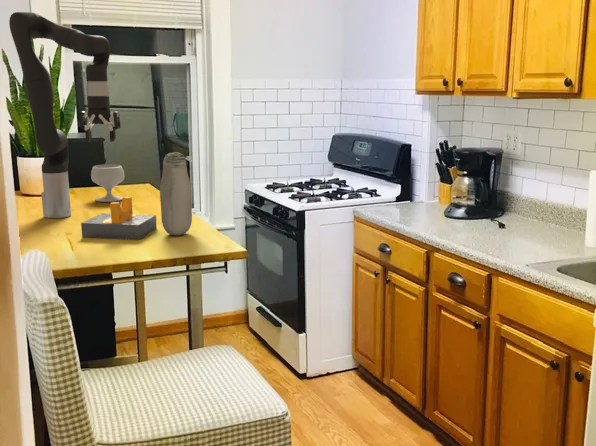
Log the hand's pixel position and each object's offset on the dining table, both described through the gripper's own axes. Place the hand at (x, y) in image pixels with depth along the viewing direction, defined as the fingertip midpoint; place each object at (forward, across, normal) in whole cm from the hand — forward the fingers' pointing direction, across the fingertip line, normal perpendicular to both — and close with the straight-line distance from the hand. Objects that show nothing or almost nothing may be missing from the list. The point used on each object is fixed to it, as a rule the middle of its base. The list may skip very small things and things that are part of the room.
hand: (101, 141), depth 228 cm
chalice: (+30, -19, +45) cm, 57 cm away
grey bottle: (+30, +31, -12) cm, 45 cm away
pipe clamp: (+25, +11, -13) cm, 31 cm away
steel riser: (+30, +11, -13) cm, 35 cm away
